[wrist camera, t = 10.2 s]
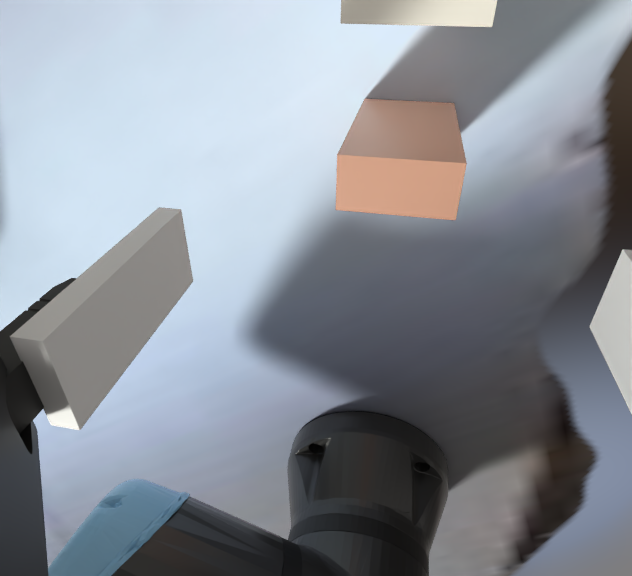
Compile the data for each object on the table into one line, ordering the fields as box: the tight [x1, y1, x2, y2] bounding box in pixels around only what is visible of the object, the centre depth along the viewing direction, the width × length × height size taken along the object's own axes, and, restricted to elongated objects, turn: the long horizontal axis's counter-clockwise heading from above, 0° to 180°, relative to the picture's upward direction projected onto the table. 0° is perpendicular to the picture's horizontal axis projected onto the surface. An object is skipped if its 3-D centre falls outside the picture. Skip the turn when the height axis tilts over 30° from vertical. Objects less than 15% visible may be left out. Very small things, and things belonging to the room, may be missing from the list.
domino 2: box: [336, 99, 467, 220], centre depth 23 cm, size 2×5×10 cm, turn 90°
